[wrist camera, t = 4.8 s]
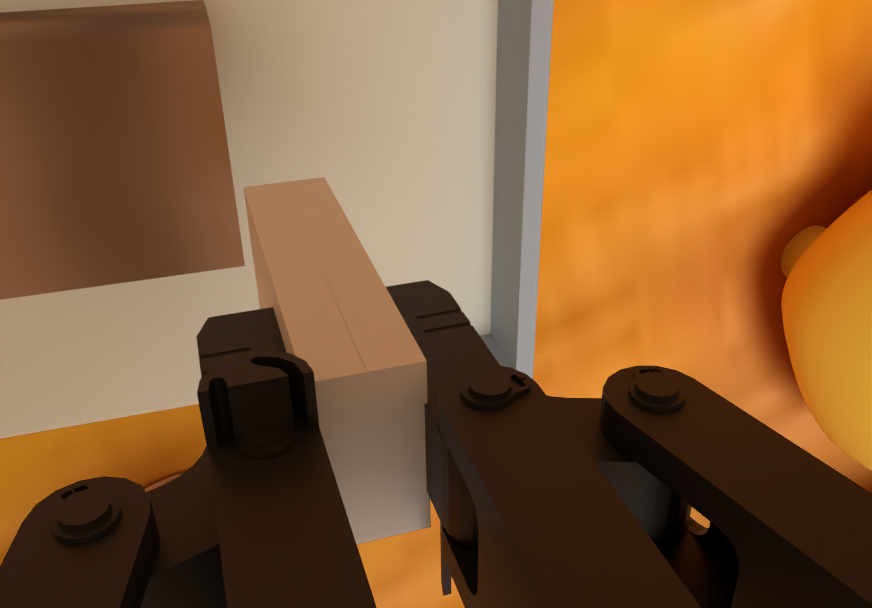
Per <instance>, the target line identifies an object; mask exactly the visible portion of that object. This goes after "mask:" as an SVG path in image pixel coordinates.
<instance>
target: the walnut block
mask: <svg viewBox="0 0 872 608" xmlns="http://www.w3.org/2000/svg"><path fill="white" fill-rule="evenodd" d="M241 266H245V262H244V255H243V248H242V241H241V234H240V227H239V220H238V213H237V206H236V199H235V192H234V185H233V178H232V171H231V164H230V157H229V150H228V143H227V136H226V129H225V122H224V114H223V107H222V100H221V93H220V86H219V79H218V72H217V65H216V58H215V51H214V44H213V37H212V30H211V25H210V21H209V18H208V14H207V11H206V7H205V4H204V0H194V1H178V2H162V3H146V4H130V5H114V6H98V7H82V8H66V9H50V10H34V11H18V12H2V13H0V300H2V299H9V298H17V297H24V296H31V295H38V294H46V293H53V292H60V291H67V290H75V289H82V288H89V287H96V286H104V285H111V284H118V283H125V282H133V281H140V280H147V279H154V278H162V277H169V276H176V275H183V274H191V273H198V272H205V271H212V270H220V269H227V268H234V267H241Z"/></svg>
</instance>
